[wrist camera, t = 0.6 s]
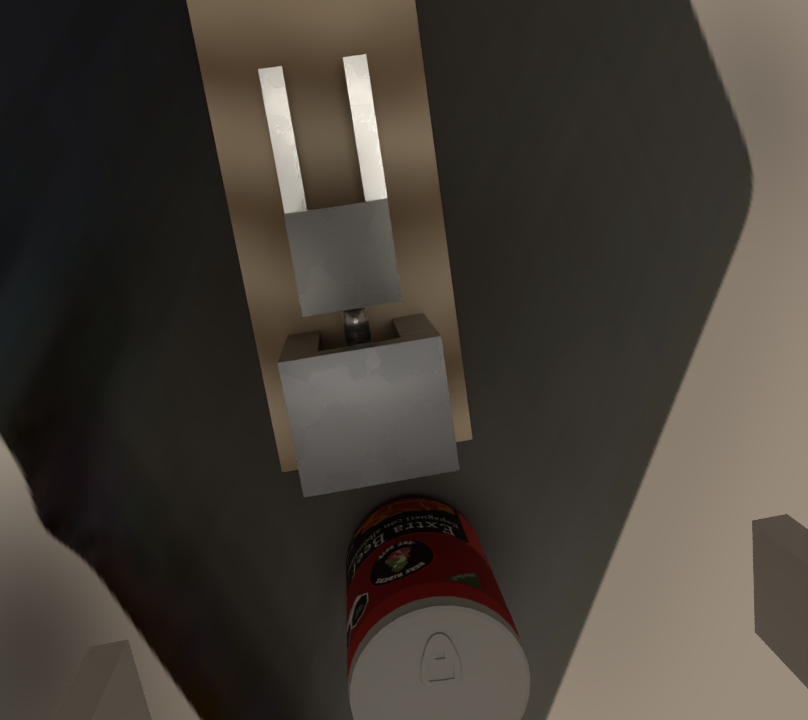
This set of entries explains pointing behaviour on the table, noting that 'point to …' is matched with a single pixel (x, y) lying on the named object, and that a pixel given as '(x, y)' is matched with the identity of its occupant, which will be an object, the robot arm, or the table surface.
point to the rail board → (326, 165)
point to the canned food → (428, 621)
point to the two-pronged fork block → (336, 213)
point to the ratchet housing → (369, 408)
